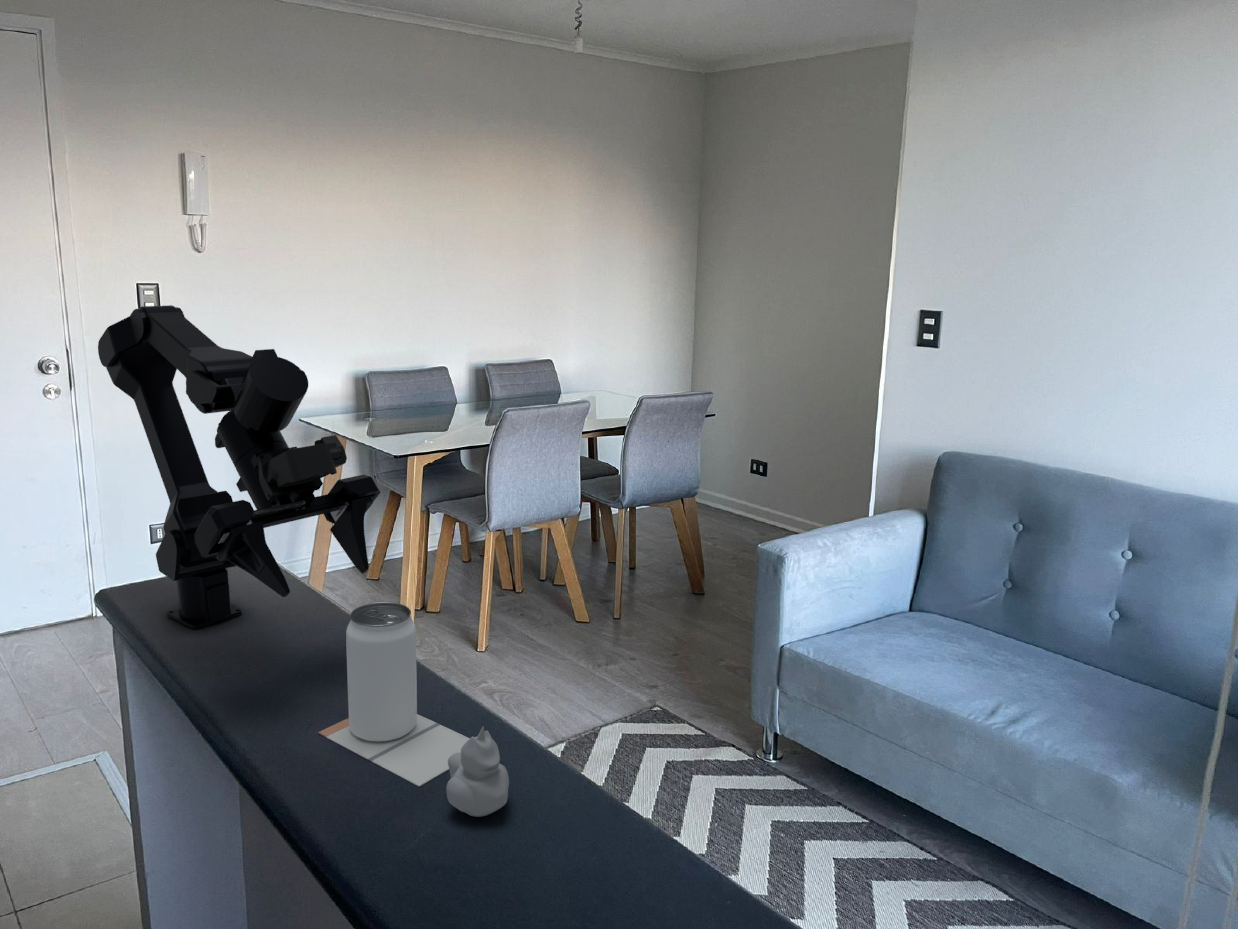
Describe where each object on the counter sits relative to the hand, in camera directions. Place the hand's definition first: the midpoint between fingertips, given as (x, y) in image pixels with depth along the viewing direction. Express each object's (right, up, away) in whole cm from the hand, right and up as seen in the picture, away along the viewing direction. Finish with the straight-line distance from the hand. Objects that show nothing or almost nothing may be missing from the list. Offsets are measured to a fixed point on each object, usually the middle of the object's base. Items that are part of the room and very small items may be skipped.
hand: (327, 582), depth 97 cm
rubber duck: (+17, -17, -15) cm, 29 cm away
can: (+6, -14, -3) cm, 16 cm away
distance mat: (+9, -14, -5) cm, 18 cm away
